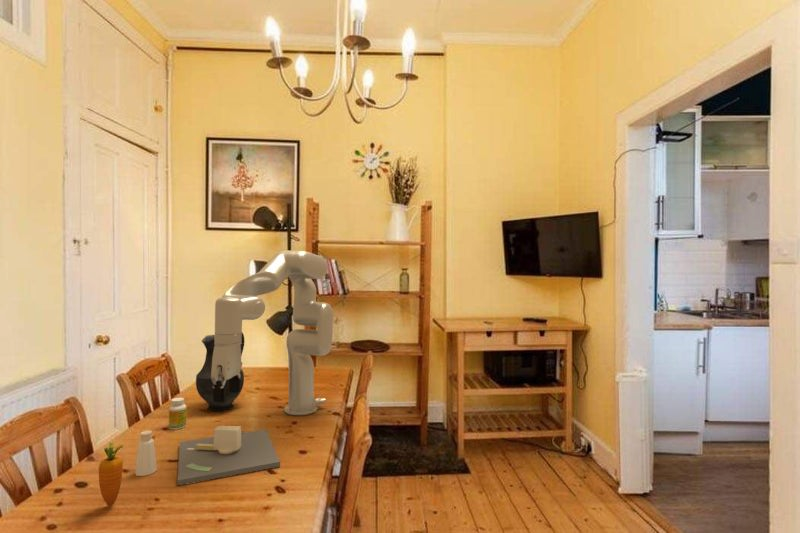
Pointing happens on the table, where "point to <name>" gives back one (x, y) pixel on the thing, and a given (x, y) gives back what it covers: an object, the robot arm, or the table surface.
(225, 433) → the cream handled block
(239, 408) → the table surface
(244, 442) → the dial board
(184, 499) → the table surface
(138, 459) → the pepper shaker
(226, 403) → the pitcher
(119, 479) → the carrot
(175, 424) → the supplement bottle
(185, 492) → the table surface
